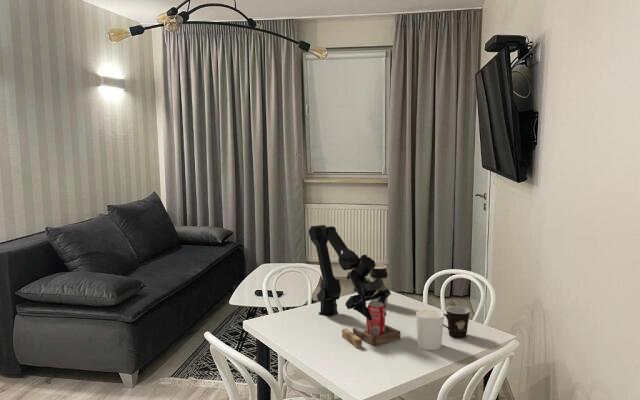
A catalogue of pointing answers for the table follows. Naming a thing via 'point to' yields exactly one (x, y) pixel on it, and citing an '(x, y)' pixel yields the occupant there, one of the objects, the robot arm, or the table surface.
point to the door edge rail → (352, 338)
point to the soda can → (376, 319)
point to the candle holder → (429, 329)
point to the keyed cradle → (388, 336)
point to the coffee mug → (457, 321)
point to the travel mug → (380, 273)
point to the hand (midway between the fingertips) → (378, 318)
